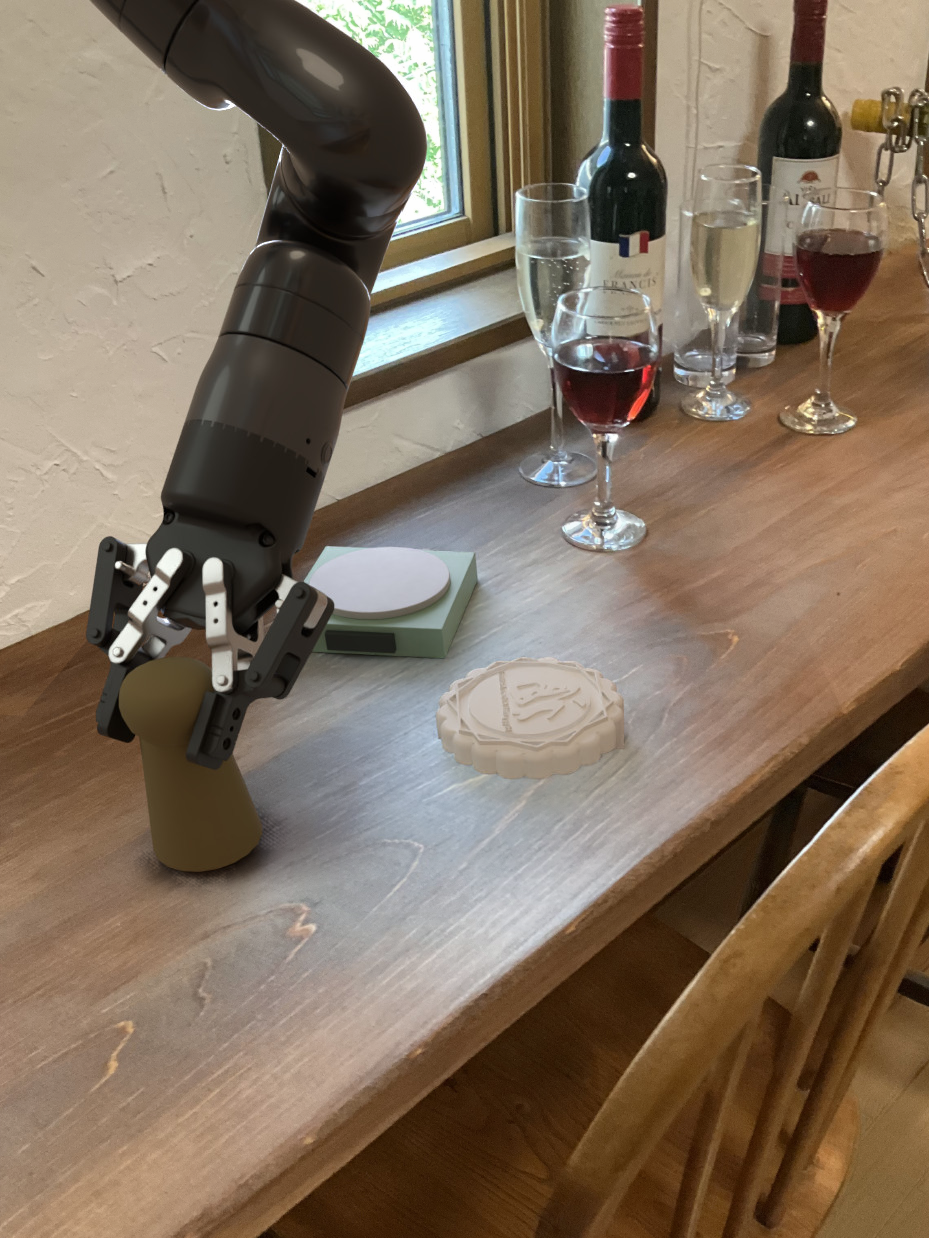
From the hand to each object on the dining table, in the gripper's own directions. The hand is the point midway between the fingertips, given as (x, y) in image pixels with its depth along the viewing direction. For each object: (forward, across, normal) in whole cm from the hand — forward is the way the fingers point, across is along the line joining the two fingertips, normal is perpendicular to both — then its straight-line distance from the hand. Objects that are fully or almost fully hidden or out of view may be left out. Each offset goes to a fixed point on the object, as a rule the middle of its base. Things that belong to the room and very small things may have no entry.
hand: (158, 750), depth 66 cm
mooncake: (-7, +11, +21) cm, 25 cm away
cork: (+4, 0, +6) cm, 8 cm away
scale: (-15, -7, +28) cm, 33 cm away
